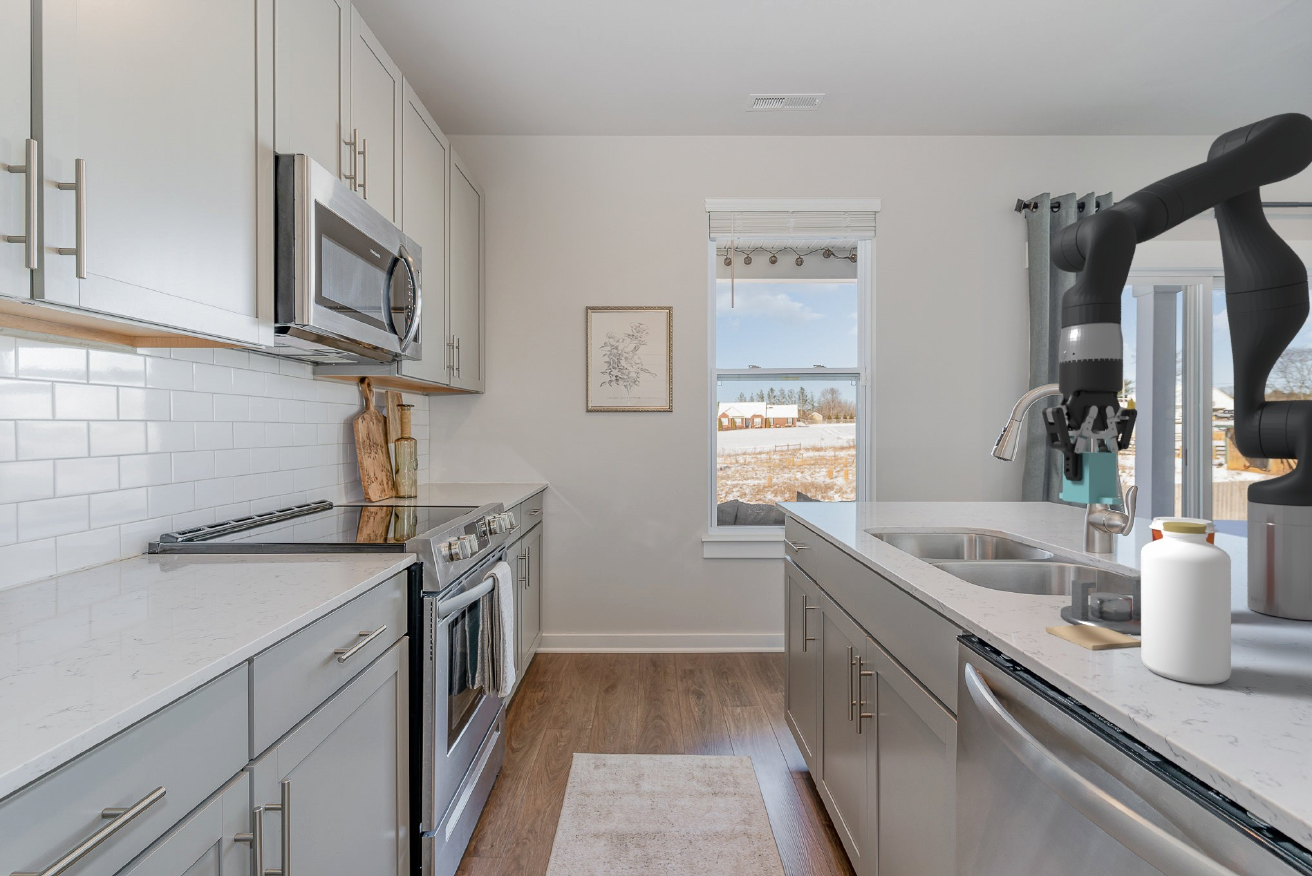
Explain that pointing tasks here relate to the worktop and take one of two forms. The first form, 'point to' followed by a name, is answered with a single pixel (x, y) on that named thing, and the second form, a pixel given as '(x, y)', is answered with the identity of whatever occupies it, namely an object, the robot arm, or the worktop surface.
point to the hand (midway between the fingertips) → (1089, 480)
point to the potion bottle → (1186, 606)
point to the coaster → (1093, 636)
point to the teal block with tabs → (1093, 480)
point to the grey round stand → (1105, 607)
